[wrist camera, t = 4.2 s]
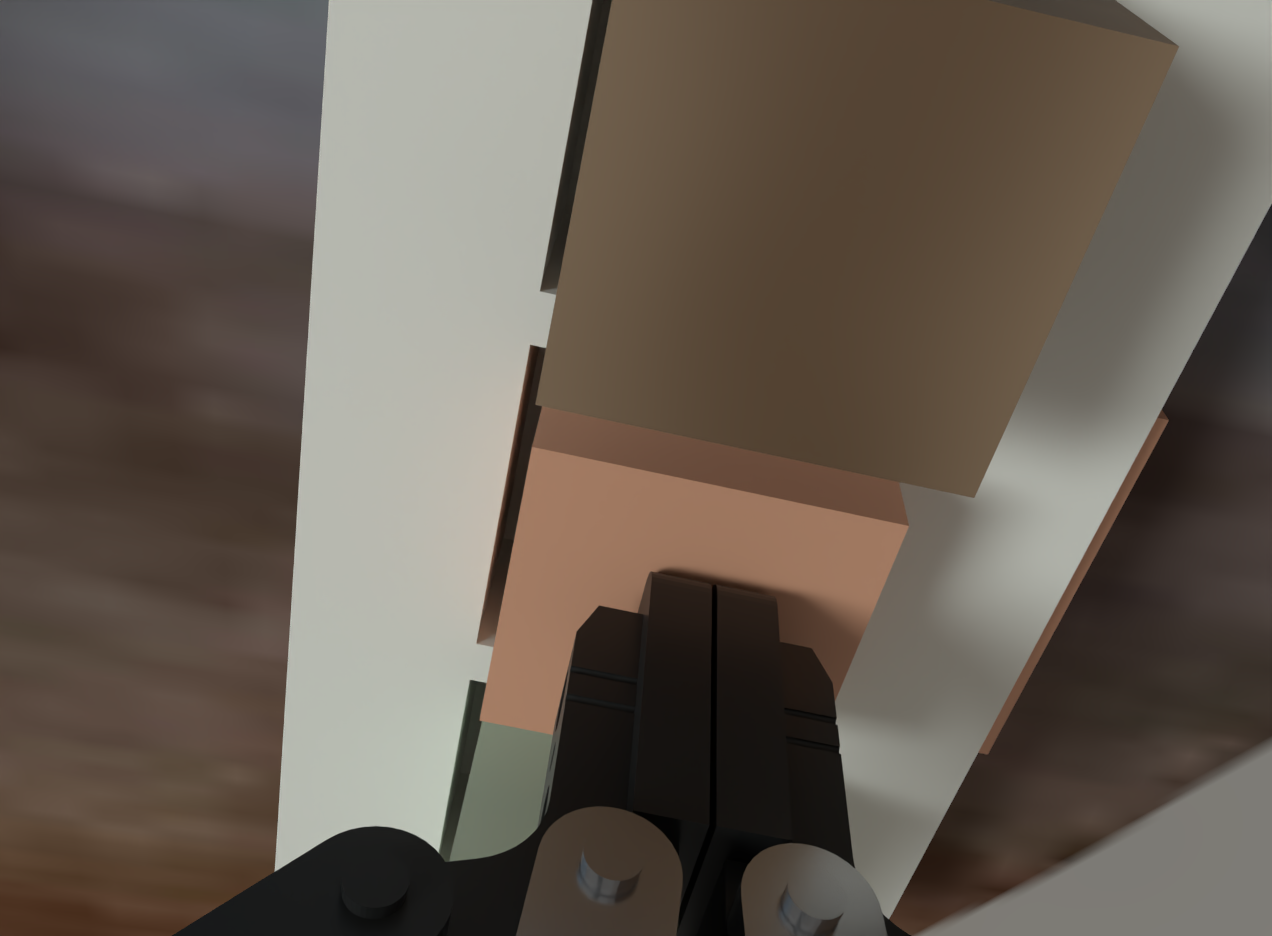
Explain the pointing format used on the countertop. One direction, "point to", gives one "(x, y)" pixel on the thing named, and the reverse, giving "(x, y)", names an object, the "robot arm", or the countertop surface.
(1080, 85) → the walnut key
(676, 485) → the terracotta key
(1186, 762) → the countertop surface
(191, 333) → the countertop surface
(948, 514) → the key housing
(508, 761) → the sage key
